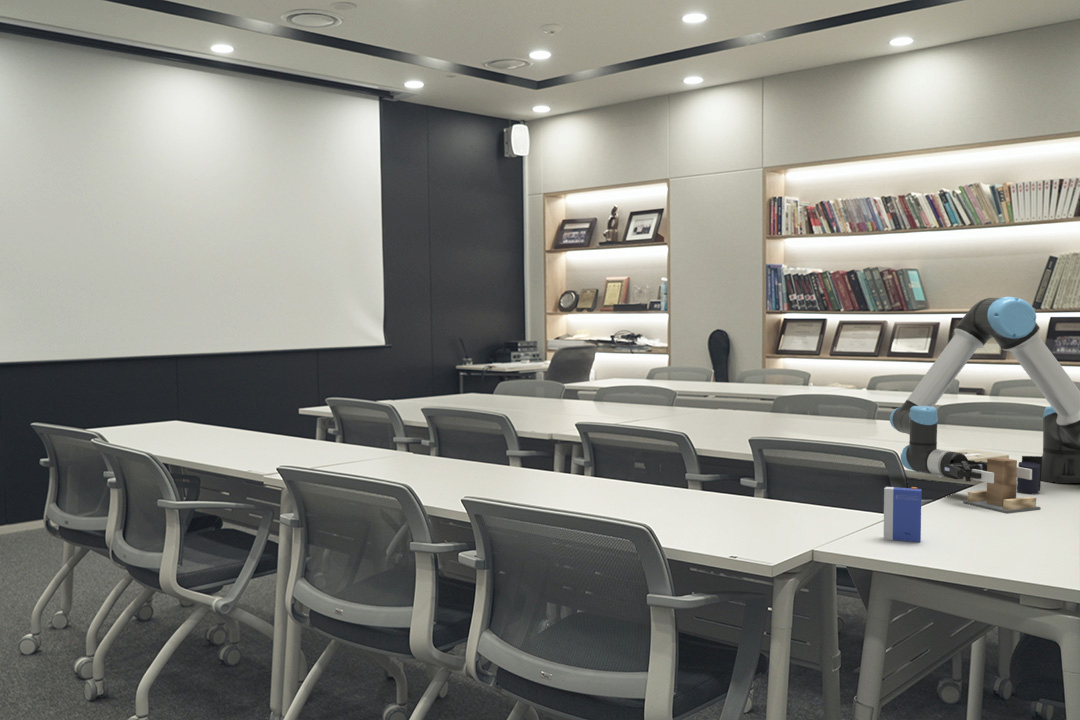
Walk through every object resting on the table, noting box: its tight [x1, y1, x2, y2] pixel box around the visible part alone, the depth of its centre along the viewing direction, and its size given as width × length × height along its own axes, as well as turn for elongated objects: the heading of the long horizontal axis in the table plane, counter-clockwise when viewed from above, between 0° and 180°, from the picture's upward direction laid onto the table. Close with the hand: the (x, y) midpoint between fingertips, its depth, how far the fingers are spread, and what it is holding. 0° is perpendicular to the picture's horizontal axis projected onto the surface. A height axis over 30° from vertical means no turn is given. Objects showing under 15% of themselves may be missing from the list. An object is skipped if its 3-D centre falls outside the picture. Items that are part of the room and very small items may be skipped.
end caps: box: [967, 489, 1037, 510], centre depth 246 cm, size 10×13×2 cm
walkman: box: [883, 486, 922, 543], centre depth 210 cm, size 8×3×12 cm, turn 65°
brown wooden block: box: [986, 457, 1018, 507], centre depth 246 cm, size 5×5×12 cm
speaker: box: [1016, 455, 1042, 495], centre depth 265 cm, size 8×6×10 cm
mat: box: [962, 500, 1041, 514], centre depth 246 cm, size 12×14×1 cm
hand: (1012, 476), depth 242 cm, fingers open, 13 cm apart
